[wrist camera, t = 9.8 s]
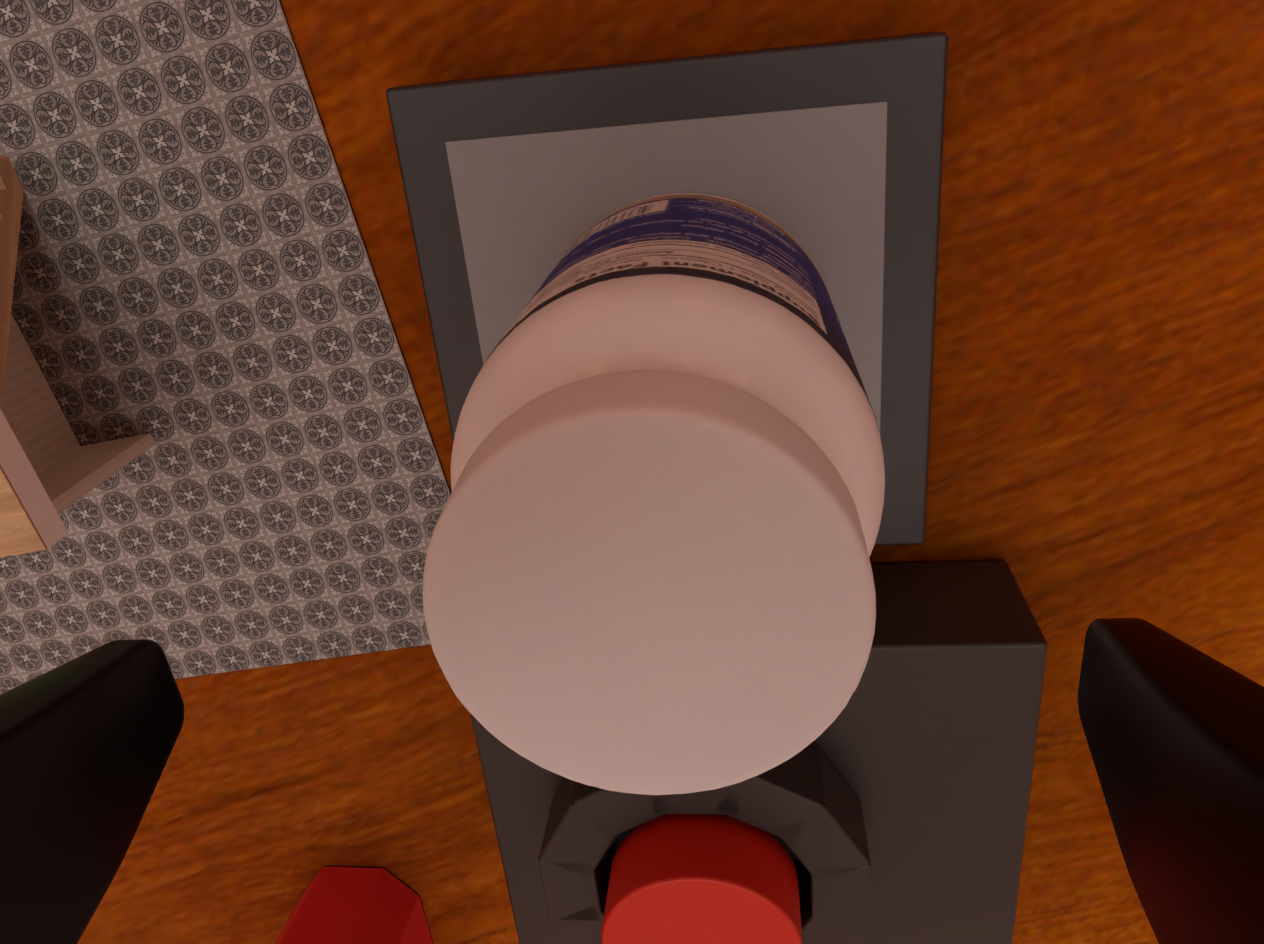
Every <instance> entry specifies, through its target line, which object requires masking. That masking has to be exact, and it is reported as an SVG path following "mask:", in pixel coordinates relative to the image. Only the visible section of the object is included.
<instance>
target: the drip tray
mask: <svg viewBox="0 0 1264 944" xmlns="http://www.w3.org/2000/svg"><path fill="white" fill-rule="evenodd" d="M947 47H948V36H947V34H946V33H941V32H931V33H921V34H912V35H902V36H892V37H882V38H872V39H862V40H852V41H842V42H832V43H822V44H812V45H802V46H792V47H782V48H772V49H763V50H753V51H743V52H733V53H723V54H713V55H703V56H693V57H683V58H673V59H663V60H653V61H643V62H633V63H623V64H614V65H604V66H594V67H584V68H574V69H564V70H554V71H544V72H534V73H524V74H514V75H504V76H494V77H484V78H474V79H465V80H455V81H445V82H435V83H425V84H415V85H405V86H399V87H394V88H389V89H387V90H386V96H387V102H388V107H389V112H390V117H391V122H392V128H393V133H394V138H395V143H396V148H397V153H398V159H399V164H400V169H401V174H402V179H403V184H404V190H405V195H406V200H407V205H408V210H409V216H410V221H411V226H412V231H413V236H414V241H415V247H416V252H417V257H418V262H419V267H420V273H421V278H422V283H423V288H424V293H425V298H426V304H427V309H428V314H429V319H430V324H431V329H432V335H433V340H434V345H435V350H436V355H437V361H438V366H439V371H440V376H441V381H442V386H443V392H444V397H445V402H446V407H447V412H448V417H449V423H450V428H451V433H452V438H453V443H454V436H455V431H456V427H457V424H458V420H459V416H460V412H461V410H462V408H463V405H464V403H465V400H466V398H467V396H468V393H469V391H470V389H471V387H472V385H473V383H474V381H475V379H476V377H477V375H478V373H479V372H480V370H481V368H482V367H483V365H484V364H485V362H486V360H487V359H488V357H489V356H490V354H491V353H492V351H493V350H494V349H495V347H496V346H497V344H498V343H499V342H500V341H501V340H502V338H503V337H504V336H505V334H506V333H507V331H508V330H509V329H510V328H511V326H512V325H513V323H514V322H515V321H516V319H517V318H518V317H519V315H520V314H521V312H522V311H523V310H524V309H525V307H526V306H527V304H528V303H529V302H530V300H531V299H532V298H533V296H534V295H535V294H536V292H537V291H538V289H539V288H540V287H541V285H542V284H543V282H544V281H545V280H546V278H547V277H548V275H549V274H550V272H551V271H552V270H553V268H554V267H555V266H556V264H557V263H558V262H559V260H560V259H561V258H562V256H563V255H564V254H565V252H566V251H567V250H568V249H569V247H570V246H571V245H572V244H573V243H574V242H575V241H576V240H577V239H578V238H579V237H580V236H581V235H582V234H584V233H585V232H586V231H587V230H588V229H589V228H590V227H592V226H593V225H594V224H595V223H597V222H598V221H599V220H601V219H602V218H604V217H605V216H607V215H608V214H610V213H612V212H613V211H615V210H617V209H619V208H621V207H623V206H625V205H628V204H630V203H633V202H635V201H638V200H642V199H645V198H649V197H653V196H659V195H665V194H675V193H699V194H707V195H714V196H719V197H724V198H728V199H731V200H734V201H737V202H739V203H742V204H745V205H747V206H749V207H751V208H753V209H755V210H757V211H759V212H761V213H763V214H764V215H766V216H768V217H769V218H771V219H772V220H774V221H775V222H776V223H778V224H779V225H780V226H781V227H783V228H784V229H785V230H786V231H787V232H788V233H790V234H791V235H792V236H793V237H794V238H795V239H796V240H797V242H798V243H799V244H800V245H801V246H802V247H803V249H804V250H805V251H806V252H807V254H808V255H809V257H810V258H811V260H812V261H813V262H814V264H815V265H816V267H817V269H818V271H819V273H820V275H821V277H822V279H823V281H824V283H825V286H826V288H827V291H828V293H829V296H830V298H831V301H832V304H833V306H834V309H835V311H836V314H837V317H838V319H839V322H840V325H841V327H842V330H843V333H844V335H845V337H846V340H847V343H848V346H849V348H850V351H851V354H852V357H853V359H854V362H855V365H856V367H857V370H858V373H859V375H860V378H861V380H862V383H863V385H864V388H865V391H866V393H867V396H868V399H869V402H870V404H871V406H872V409H873V411H874V414H875V417H876V420H877V425H878V429H879V432H880V437H881V445H882V450H883V458H884V469H885V492H884V505H883V511H882V517H881V522H880V527H879V531H878V534H877V538H876V541H875V544H874V546H875V545H909V544H923V543H924V540H925V518H926V497H927V476H928V454H929V433H930V411H931V390H932V369H933V347H934V326H935V304H936V283H937V261H938V240H939V219H940V197H941V176H942V154H943V133H944V112H945V90H946V69H947Z"/></svg>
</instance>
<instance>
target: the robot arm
mask: <svg viewBox="0 0 1264 944" xmlns="http://www.w3.org/2000/svg"><path fill="white" fill-rule="evenodd" d="M1078 708H1079V714H1080V719H1081V723H1082V726H1083V729H1084V732H1085V735H1086V739H1087V742H1088V745H1089V748H1090V752H1091V755H1092V758H1093V761H1094V764H1095V768H1096V771H1097V774H1098V777H1099V781H1100V784H1101V787H1102V790H1103V793H1104V797H1105V800H1106V803H1107V806H1108V810H1109V813H1110V816H1111V819H1112V822H1113V826H1114V829H1115V832H1116V835H1117V839H1118V842H1119V845H1120V848H1121V851H1122V854H1123V857H1124V860H1125V863H1126V866H1127V869H1128V872H1129V875H1130V877H1131V880H1132V882H1133V885H1134V887H1135V890H1136V892H1137V894H1138V897H1139V899H1140V902H1141V904H1142V906H1143V909H1144V911H1145V913H1146V915H1147V918H1148V920H1149V922H1150V924H1151V927H1152V929H1153V931H1154V934H1155V936H1156V938H1157V940H1158V943H1159V944H1264V687H1263V686H1261V685H1259V684H1258V683H1256V682H1254V681H1252V680H1250V679H1249V678H1247V677H1245V676H1243V675H1242V674H1240V673H1238V672H1236V671H1234V670H1233V669H1231V668H1229V667H1227V666H1226V665H1224V664H1222V663H1220V662H1218V661H1217V660H1215V659H1213V658H1211V657H1210V656H1208V655H1206V654H1204V653H1202V652H1201V651H1199V650H1197V649H1195V648H1194V647H1192V646H1190V645H1188V644H1186V643H1185V642H1183V641H1181V640H1179V639H1178V638H1176V637H1174V636H1172V635H1170V634H1169V633H1167V632H1165V631H1163V630H1162V629H1160V628H1158V627H1156V626H1154V625H1153V624H1151V623H1149V622H1147V621H1145V620H1143V619H1139V618H1113V619H1096V620H1095V621H1093V622H1092V623H1091V624H1090V625H1089V628H1088V630H1087V633H1086V638H1085V645H1084V652H1083V660H1082V667H1081V674H1080V681H1079V688H1078ZM183 720H184V703H183V700H182V697H181V694H180V692H179V689H178V687H177V684H176V681H175V679H174V676H173V673H172V671H171V668H170V665H169V663H168V660H167V658H166V655H165V652H164V650H163V648H162V647H161V646H160V645H159V644H158V643H157V642H155V641H153V640H151V639H127V640H115V641H111V642H108V643H106V644H104V645H102V646H100V647H98V648H96V649H94V650H92V651H90V652H88V653H85V654H83V655H81V656H79V657H77V658H75V659H73V660H71V661H69V662H67V663H65V664H63V665H61V666H58V667H56V668H54V669H52V670H50V671H48V672H46V673H44V674H42V675H40V676H38V677H36V678H33V679H31V680H29V681H27V682H25V683H23V684H21V685H19V686H17V687H15V688H13V689H11V690H9V691H6V692H4V693H2V694H0V944H77V943H78V941H79V939H80V938H81V936H82V934H83V932H84V930H85V929H86V927H87V925H88V923H89V921H90V920H91V918H92V916H93V914H94V912H95V911H96V909H97V907H98V905H99V903H100V902H101V900H102V898H103V896H104V895H105V893H106V891H107V889H108V887H109V886H110V884H111V882H112V880H113V878H114V876H115V874H116V872H117V870H118V869H119V867H120V865H121V863H122V861H123V859H124V856H125V854H126V852H127V850H128V848H129V846H130V844H131V842H132V839H133V837H134V835H135V833H136V830H137V828H138V826H139V824H140V821H141V819H142V817H143V814H144V812H145V810H146V808H147V805H148V803H149V801H150V799H151V796H152V794H153V792H154V790H155V787H156V785H157V783H158V780H159V778H160V776H161V774H162V771H163V769H164V767H165V765H166V762H167V760H168V758H169V755H170V753H171V751H172V749H173V746H174V744H175V742H176V740H177V737H178V735H179V733H180V731H181V728H182V725H183Z"/></svg>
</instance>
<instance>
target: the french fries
mask: <svg viewBox="0 0 1264 944" xmlns="http://www.w3.org/2000/svg"><path fill="white" fill-rule="evenodd" d="M275 944H433V943H432V939H431V936H430V932H429V928H428V924H427V921H426V917H425V914H424V911H423V907H422V904H421V901H420V898H419V895H417V894H416V893H415V892H413V891H412V890H411V889H410V888H408V887H407V886H406V885H404V884H403V883H402V882H400V881H399V880H398V879H397V878H395V877H394V876H393V875H391V874H390V873H389V872H388V871H386V870H385V869H384V868H358V867H326V866H324V867H323V868H322V869H321V871H320V872H319V873H318V874H317V876H316V877H315V878H314V880H313V881H312V882H311V883H310V885H309V886H308V887H307V888H306V890H305V891H304V892H303V894H302V896H301V898H300V900H299V901H298V903H297V905H296V907H295V909H294V911H293V912H292V914H291V916H290V918H289V920H288V921H287V923H286V925H285V927H284V929H283V931H282V932H281V934H280V936H279V938H278V940H277V941H276V943H275Z"/></svg>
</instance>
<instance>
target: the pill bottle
mask: <svg viewBox="0 0 1264 944" xmlns="http://www.w3.org/2000/svg"><path fill="white" fill-rule="evenodd" d="M451 489H452V493H451V495H450V497H449V499H448V501H447V503H446V505H445V507H444V509H443V511H442V513H441V515H440V517H439V519H438V521H437V524H436V526H435V528H434V531H433V534H432V537H431V540H430V543H429V546H428V549H427V554H426V561H425V567H424V575H423V610H424V617H425V622H426V628H427V632H428V636H429V639H430V642H431V645H432V649H433V652H434V654H435V657H436V659H437V661H438V663H439V665H440V667H441V669H442V671H443V673H444V675H445V677H446V679H447V681H448V683H449V684H450V686H451V688H452V690H453V692H454V693H455V695H456V697H457V698H458V699H459V700H460V702H461V703H462V704H463V705H464V706H465V708H466V709H467V710H468V711H469V712H470V713H471V714H472V715H473V716H474V717H475V718H476V719H477V720H478V721H479V722H480V724H481V725H482V726H483V727H484V728H485V729H486V730H488V731H489V732H490V733H491V734H492V735H493V736H495V737H496V738H497V739H498V740H499V741H500V742H502V743H503V744H504V745H506V746H507V747H509V748H510V749H512V750H513V751H515V752H516V753H518V754H519V755H521V756H522V757H524V758H526V759H528V760H529V761H531V762H533V763H535V764H536V765H538V766H540V767H542V768H544V769H546V770H549V771H551V772H553V773H556V774H558V775H560V776H563V777H565V778H567V779H570V780H573V781H576V782H579V783H582V784H585V785H588V786H593V787H597V788H601V789H605V790H609V791H616V792H623V793H632V794H645V795H669V794H685V793H694V792H701V791H707V790H714V789H718V788H722V787H726V786H729V785H733V784H737V783H740V782H742V781H745V780H747V779H749V778H752V777H755V776H757V775H760V774H762V773H764V772H766V771H768V770H770V769H772V768H774V767H776V766H778V765H780V764H782V763H783V762H785V761H787V760H789V759H790V758H792V757H793V756H795V755H796V754H798V753H799V752H801V751H802V750H803V749H804V748H806V747H807V746H808V745H809V744H810V743H812V742H813V741H814V740H815V739H817V738H818V737H819V736H820V735H821V734H822V733H823V732H824V731H825V730H826V729H827V728H828V727H829V726H830V725H831V724H832V723H833V722H834V720H835V719H836V718H837V717H838V715H839V714H840V713H841V712H842V710H843V709H844V708H845V707H846V705H847V703H848V701H849V699H850V697H851V696H852V694H853V692H854V691H855V690H856V688H857V686H858V684H859V681H860V679H861V677H862V674H863V672H864V669H865V667H866V664H867V661H868V658H869V654H870V651H871V647H872V642H873V638H874V633H875V622H876V592H875V585H874V579H873V572H872V568H871V563H870V559H869V557H870V555H871V552H872V550H873V547H874V544H875V541H876V538H877V534H878V531H879V527H880V522H881V517H882V511H883V505H884V492H885V469H884V458H883V450H882V445H881V437H880V432H879V429H878V425H877V420H876V417H875V414H874V411H873V409H872V406H871V404H870V402H869V399H868V396H867V393H866V391H865V388H864V385H863V383H862V380H861V378H860V375H859V373H858V370H857V367H856V365H855V362H854V359H853V357H852V354H851V351H850V348H849V346H848V343H847V340H846V337H845V335H844V333H843V330H842V327H841V325H840V322H839V319H838V317H837V314H836V311H835V309H834V306H833V304H832V301H831V298H830V296H829V293H828V291H827V288H826V286H825V283H824V281H823V279H822V277H821V275H820V273H819V271H818V269H817V267H816V265H815V264H814V262H813V261H812V260H811V258H810V257H809V255H808V254H807V252H806V251H805V250H804V249H803V247H802V246H801V245H800V244H799V243H798V242H797V240H796V239H795V238H794V237H793V236H792V235H791V234H790V233H788V232H787V231H786V230H785V229H784V228H783V227H781V226H780V225H779V224H778V223H776V222H775V221H774V220H772V219H771V218H769V217H768V216H766V215H764V214H763V213H761V212H759V211H757V210H755V209H753V208H751V207H749V206H747V205H745V204H742V203H739V202H737V201H734V200H731V199H728V198H724V197H719V196H714V195H707V194H699V193H675V194H665V195H659V196H653V197H649V198H645V199H642V200H638V201H635V202H633V203H630V204H628V205H625V206H623V207H621V208H619V209H617V210H615V211H613V212H612V213H610V214H608V215H607V216H605V217H604V218H602V219H601V220H599V221H598V222H597V223H595V224H594V225H593V226H592V227H590V228H589V229H588V230H587V231H586V232H585V233H584V234H582V235H581V236H580V237H579V238H578V239H577V240H576V241H575V242H574V243H573V244H572V245H571V246H570V247H569V249H568V250H567V251H566V252H565V254H564V255H563V256H562V258H561V259H560V260H559V262H558V263H557V264H556V266H555V267H554V268H553V270H552V271H551V272H550V274H549V275H548V277H547V278H546V280H545V281H544V282H543V284H542V285H541V287H540V288H539V289H538V291H537V292H536V294H535V295H534V296H533V298H532V299H531V300H530V302H529V303H528V304H527V306H526V307H525V309H524V310H523V311H522V312H521V314H520V315H519V317H518V318H517V319H516V321H515V322H514V323H513V325H512V326H511V328H510V329H509V330H508V331H507V333H506V334H505V336H504V337H503V338H502V340H501V341H500V342H499V343H498V344H497V346H496V347H495V349H494V350H493V351H492V353H491V354H490V356H489V357H488V359H487V360H486V362H485V364H484V365H483V367H482V368H481V370H480V372H479V373H478V375H477V377H476V379H475V381H474V383H473V385H472V387H471V389H470V391H469V393H468V396H467V398H466V400H465V403H464V405H463V408H462V410H461V412H460V416H459V420H458V424H457V427H456V431H455V436H454V443H453V449H452V456H451Z"/></svg>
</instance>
